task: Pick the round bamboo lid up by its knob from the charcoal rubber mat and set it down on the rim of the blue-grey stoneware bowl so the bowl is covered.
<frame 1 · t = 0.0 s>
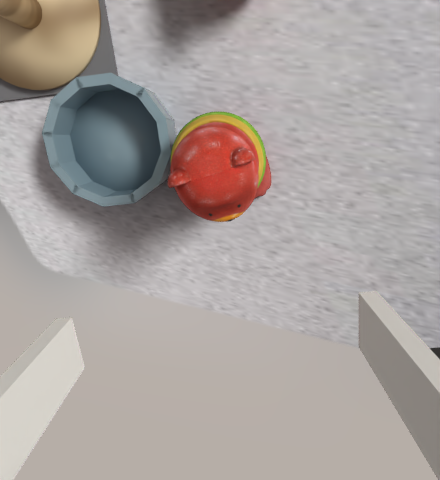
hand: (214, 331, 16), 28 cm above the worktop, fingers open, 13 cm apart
stacking bear: (221, 161, 41), on the worktop
bowl: (121, 142, 41), on the worktop
lid: (31, 14, 37), resting on mat
mat: (32, 15, 38), on the worktop
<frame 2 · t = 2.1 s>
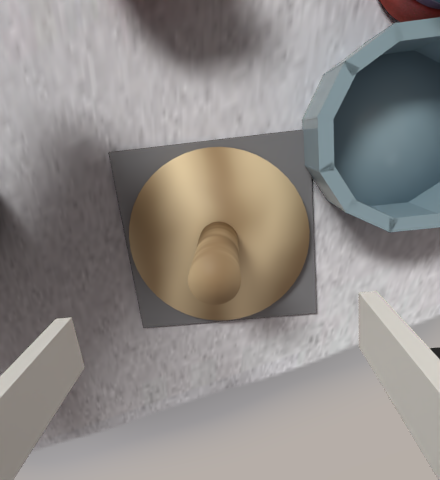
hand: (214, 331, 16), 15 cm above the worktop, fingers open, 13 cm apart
bowl: (386, 133, 27), on the worktop
lid: (218, 237, 30), resting on mat
mat: (219, 236, 30), on the worktop
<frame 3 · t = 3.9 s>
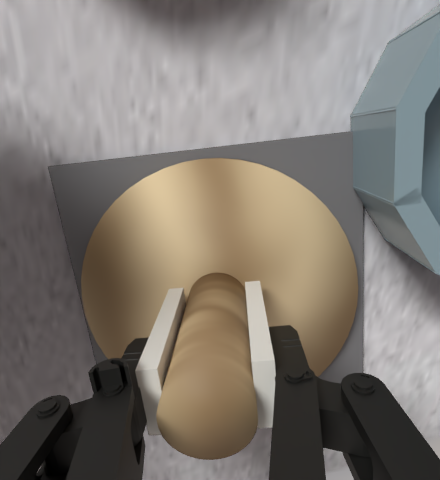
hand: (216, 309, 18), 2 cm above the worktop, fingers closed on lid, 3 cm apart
lid: (218, 293, 20), resting on mat, touching gripper
mat: (219, 291, 20), on the worktop
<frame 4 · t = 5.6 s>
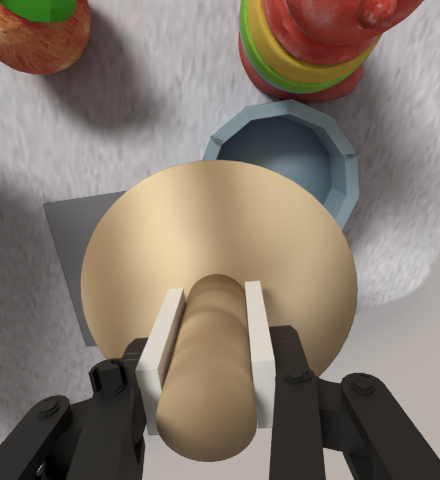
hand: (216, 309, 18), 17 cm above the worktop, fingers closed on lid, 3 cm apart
stacking bear: (294, 41, 30), on the worktop
bowl: (270, 179, 33), on the worktop
lid: (217, 295, 20), point 15 cm above the worktop, touching gripper
fruit: (54, 26, 30), on the worktop
mat: (142, 267, 36), on the worktop
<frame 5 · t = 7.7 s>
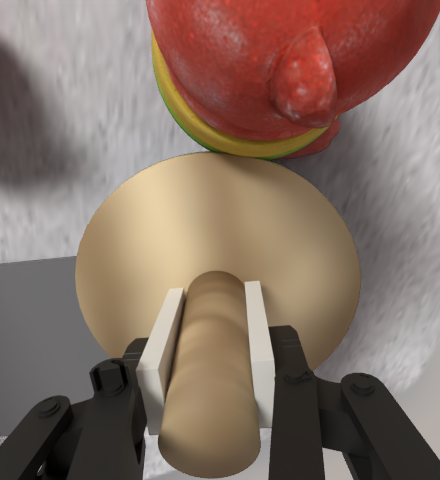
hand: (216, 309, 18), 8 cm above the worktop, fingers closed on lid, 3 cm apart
stacking bear: (253, 79, 23), on the worktop, touching lid
lid: (217, 289, 19), point 7 cm above the worktop, tilted 7°, touching gripper, stacking bear
mat: (61, 350, 29), on the worktop
when the fingers open (8 cm above the worktop, at t = 7.7 s): lid drops 1 cm, resting on bowl, stacking bear.
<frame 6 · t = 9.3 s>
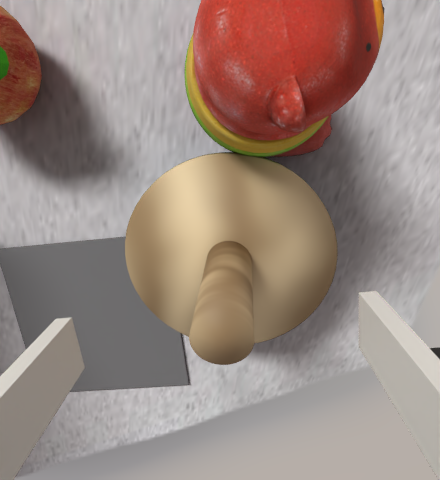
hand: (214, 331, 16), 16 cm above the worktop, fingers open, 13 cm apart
stacking bear: (261, 91, 28), on the worktop, touching lid
lid: (229, 256, 26), point 6 cm above the worktop, tilted 7°, touching bowl, stacking bear
fruit: (9, 72, 29), on the worktop
mat: (97, 318, 34), on the worktop
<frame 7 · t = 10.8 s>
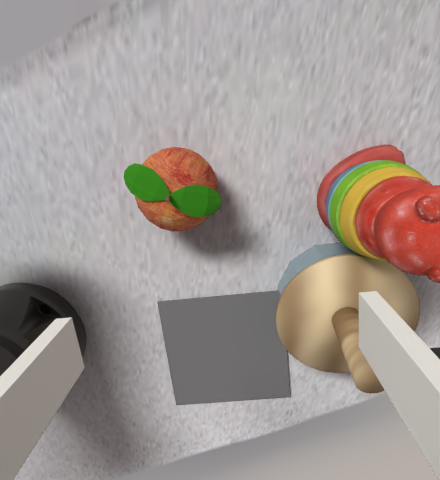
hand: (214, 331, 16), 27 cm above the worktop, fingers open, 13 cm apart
stacking bear: (358, 197, 41), on the worktop, touching lid
bowl: (330, 293, 44), on the worktop
lid: (344, 315, 38), point 6 cm above the worktop, tilted 7°, touching bowl, stacking bear
fruit: (181, 183, 41), on the worktop
mat: (226, 350, 47), on the worktop
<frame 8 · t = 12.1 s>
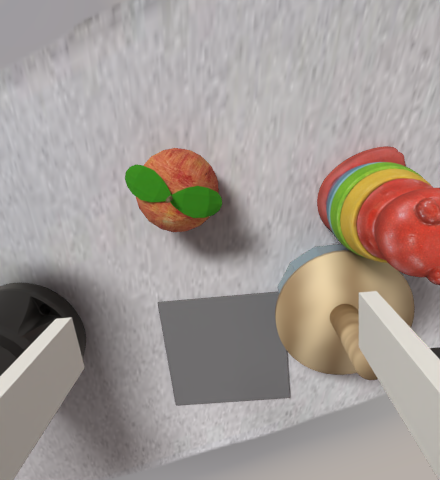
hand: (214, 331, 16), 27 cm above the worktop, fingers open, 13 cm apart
stacking bear: (358, 198, 41), on the worktop
bowl: (330, 294, 44), on the worktop
lid: (342, 313, 39), point 5 cm above the worktop, touching bowl
fruit: (182, 184, 41), on the worktop
mat: (226, 350, 47), on the worktop
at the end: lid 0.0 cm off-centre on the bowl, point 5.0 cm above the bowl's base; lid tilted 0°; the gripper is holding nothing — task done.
